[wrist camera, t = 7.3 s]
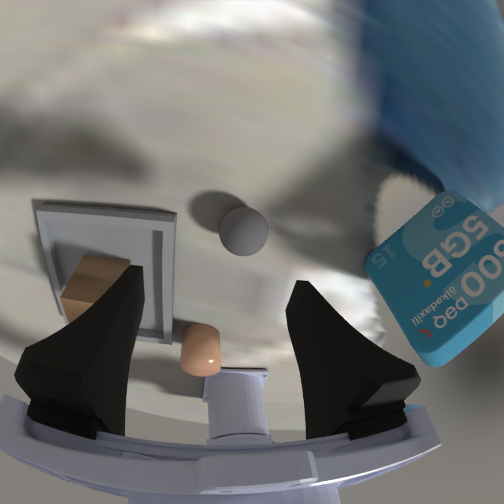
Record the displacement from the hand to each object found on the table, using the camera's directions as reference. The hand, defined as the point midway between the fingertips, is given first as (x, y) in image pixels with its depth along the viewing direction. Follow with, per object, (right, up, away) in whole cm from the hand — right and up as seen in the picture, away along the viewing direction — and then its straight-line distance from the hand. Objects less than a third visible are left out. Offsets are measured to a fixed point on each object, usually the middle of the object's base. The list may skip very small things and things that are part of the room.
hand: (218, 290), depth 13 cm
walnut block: (-11, 0, +10) cm, 15 cm away
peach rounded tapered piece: (-4, -7, +16) cm, 18 cm away
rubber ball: (+1, +4, +9) cm, 10 cm away
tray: (-11, 0, +10) cm, 15 cm away
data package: (+17, +4, +12) cm, 21 cm away
